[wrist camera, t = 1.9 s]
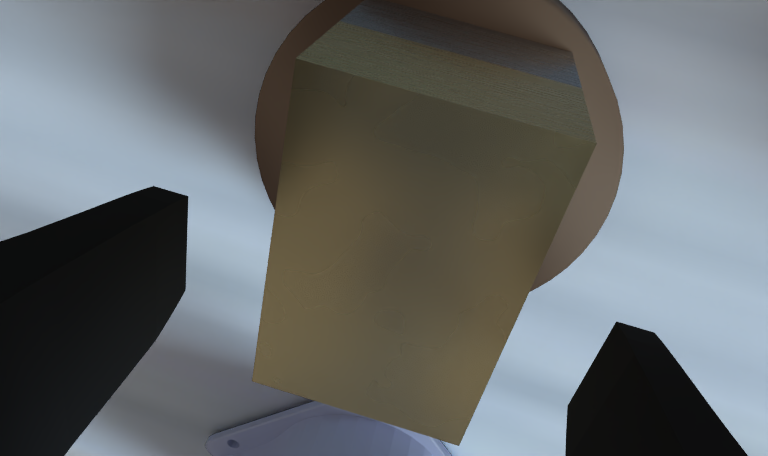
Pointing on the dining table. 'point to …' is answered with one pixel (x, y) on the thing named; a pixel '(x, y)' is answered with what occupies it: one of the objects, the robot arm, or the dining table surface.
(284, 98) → the stand
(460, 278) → the block
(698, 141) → the dining table surface
